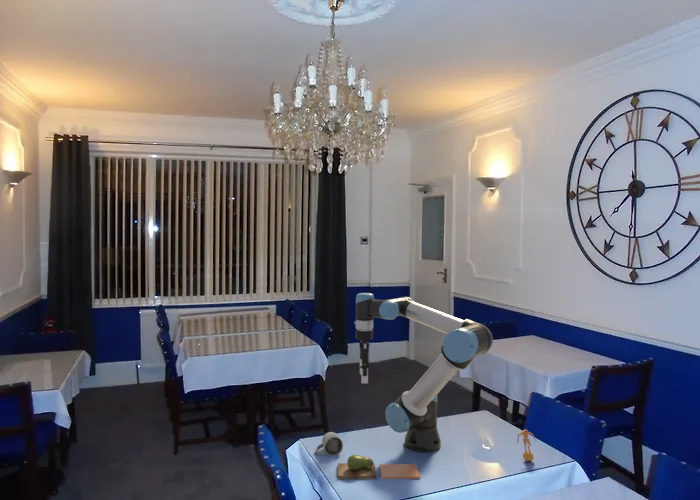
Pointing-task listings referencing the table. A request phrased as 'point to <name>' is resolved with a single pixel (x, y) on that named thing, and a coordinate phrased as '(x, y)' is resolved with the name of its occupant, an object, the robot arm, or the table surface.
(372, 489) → the table surface
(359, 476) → the walnut board
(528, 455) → the figurine
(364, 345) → the robot arm
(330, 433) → the ceramic mug
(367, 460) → the green oblong lump
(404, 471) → the terracotta tile
